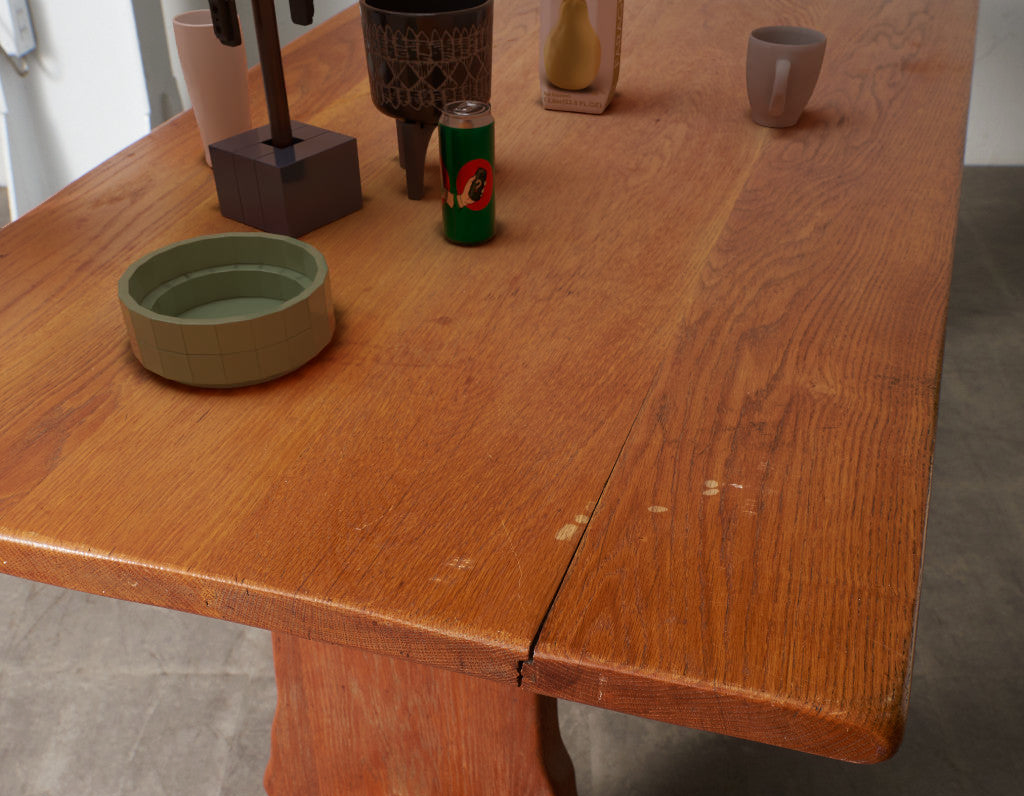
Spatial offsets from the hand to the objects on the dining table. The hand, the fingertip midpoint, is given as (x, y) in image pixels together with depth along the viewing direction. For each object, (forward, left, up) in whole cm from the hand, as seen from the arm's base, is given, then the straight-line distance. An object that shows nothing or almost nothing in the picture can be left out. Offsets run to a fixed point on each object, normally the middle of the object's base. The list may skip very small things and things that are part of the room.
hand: (267, 34), depth 91 cm
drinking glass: (-15, +5, -17) cm, 23 cm away
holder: (0, 0, -17) cm, 17 cm away
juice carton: (+4, +45, -17) cm, 48 cm away
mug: (+27, +53, -17) cm, 62 cm away
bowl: (+16, -21, -17) cm, 31 cm away
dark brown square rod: (0, 0, -17) cm, 17 cm away
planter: (+6, +15, -17) cm, 23 cm away
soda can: (+18, +6, -17) cm, 25 cm away
